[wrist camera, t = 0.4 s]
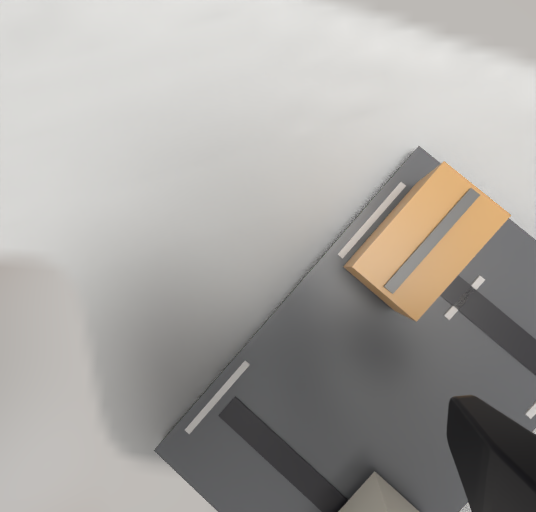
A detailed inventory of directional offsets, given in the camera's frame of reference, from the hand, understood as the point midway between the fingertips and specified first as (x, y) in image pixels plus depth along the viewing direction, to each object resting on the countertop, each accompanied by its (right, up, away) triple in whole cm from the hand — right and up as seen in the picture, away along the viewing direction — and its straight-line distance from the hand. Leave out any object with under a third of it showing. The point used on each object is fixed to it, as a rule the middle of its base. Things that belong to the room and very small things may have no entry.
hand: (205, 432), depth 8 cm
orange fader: (+7, +4, +11) cm, 14 cm away
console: (+7, -3, +13) cm, 15 cm away
